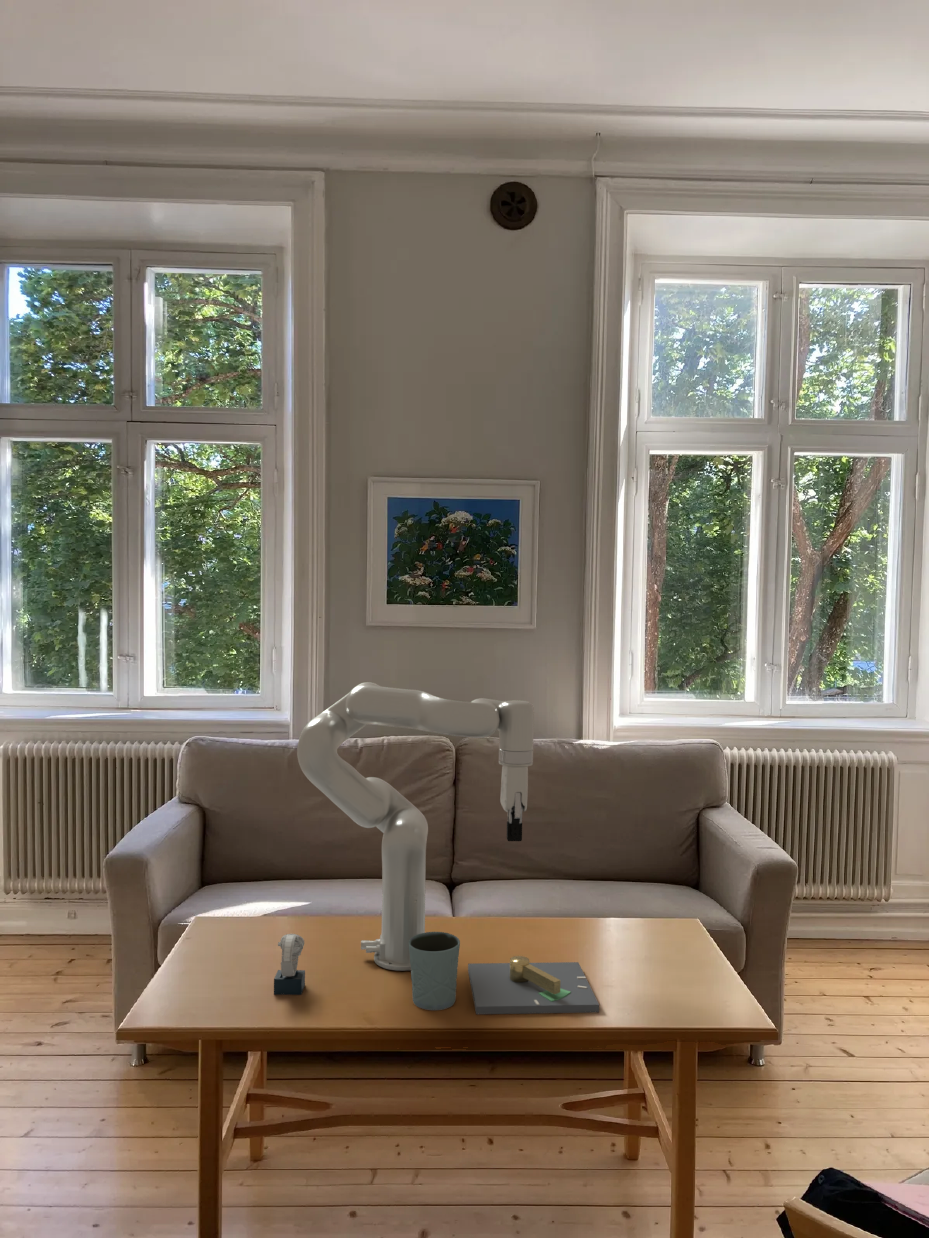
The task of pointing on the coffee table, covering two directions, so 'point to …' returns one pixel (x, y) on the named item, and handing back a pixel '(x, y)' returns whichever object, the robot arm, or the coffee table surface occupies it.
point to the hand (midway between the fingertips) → (514, 839)
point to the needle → (532, 974)
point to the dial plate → (530, 990)
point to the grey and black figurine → (290, 967)
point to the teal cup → (434, 969)
